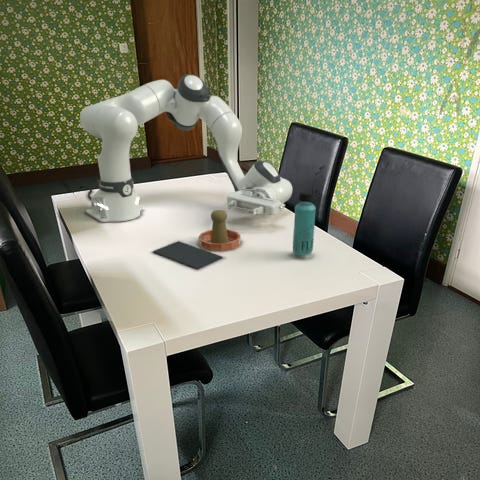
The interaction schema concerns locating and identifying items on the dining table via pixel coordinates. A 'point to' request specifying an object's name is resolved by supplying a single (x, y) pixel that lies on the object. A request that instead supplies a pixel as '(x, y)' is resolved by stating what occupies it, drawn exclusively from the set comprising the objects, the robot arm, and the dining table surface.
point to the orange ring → (205, 244)
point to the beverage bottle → (304, 225)
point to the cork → (219, 227)
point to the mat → (188, 255)
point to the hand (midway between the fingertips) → (240, 209)
